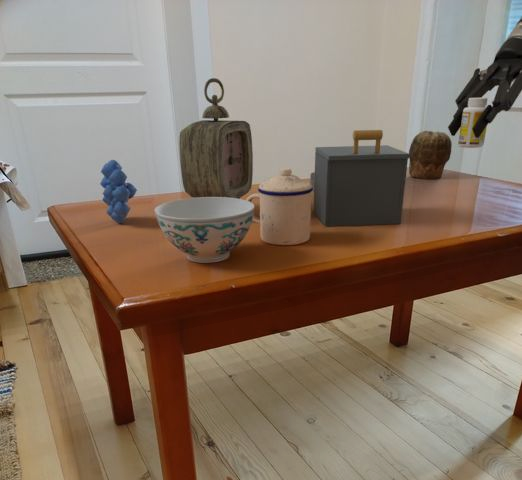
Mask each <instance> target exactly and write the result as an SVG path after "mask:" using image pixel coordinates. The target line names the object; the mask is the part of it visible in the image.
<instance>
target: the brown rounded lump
mask: <svg viewBox="0 0 522 480" xmlns="http://www.w3.org/2000/svg"><path fill="white" fill-rule="evenodd" d="M452 145H453V143H452V140H451V137H450V136H449V135H448V134H447V133H446V132H443V131H433V130H422V131H420V132H419V133H418V134H416V135H415V136H414V137H413V139H412V141H411V143H410V146H409V149H408V153H409V154H410V158H408V160H409V163H408V173H409V175H410V177H411V178H417V179H422V180H423V179H424V180H435V179H434V178H437V179H441V177H442V176H443V173H444V169H445V166H446V164H447V163H448V162H449V161H450V158H451V154H452Z"/></svg>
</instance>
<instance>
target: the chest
mask: <svg viewBox="0 0 522 480" xmlns="http://www.w3.org/2000/svg"><path fill="white" fill-rule="evenodd" d="M408 161H409V158H404V159H369V160H333V161H329V160H327V159H326V158H324V157H323V156H322V155H320V154H319V153H317V152H316V151H314V172H315V179H314V192H313V210H312V211H313V213H314V214H315V216H316V217H317V218H318V220H319V221H320V222H321V224H322V225H323V226H324V227H347V226H348V227H350V226H352V227H353V226H374V225H376V226H378V225H400V224H401V223H402V215H403V206H404V198H405V190H406V189H405V187H406V180H407V171H408V170H407V169H408V164H409V163H408Z"/></svg>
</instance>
